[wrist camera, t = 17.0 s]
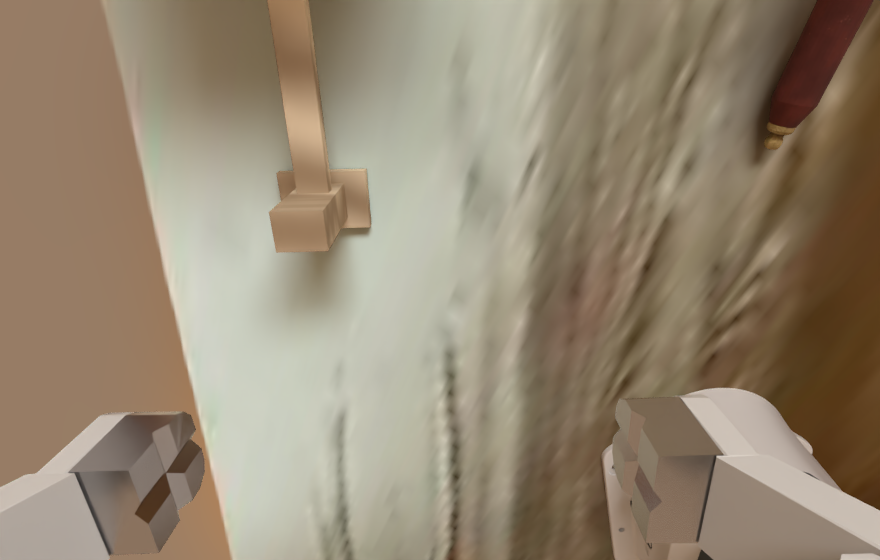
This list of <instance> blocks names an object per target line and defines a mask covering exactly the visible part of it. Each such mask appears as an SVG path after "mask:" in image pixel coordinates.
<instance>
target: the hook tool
mask: <svg viewBox="0 0 880 560" xmlns="http://www.w3.org/2000/svg"><path fill="white" fill-rule="evenodd" d="M267 2H268V9H269V15H270V22H271V28H272V35H273V41H274V47H275V54H276V60H277V67H278V73H279V80H280V86H281V93H282V99H283V106H284V112H285V119H286V125H287V132H288V138H289V145H290V151H291V158H292V164H293V171H279V172H278V173H276V174H277V179H278V185H279V191H280V197H281V202H280V203H279V204H278V205H276V206H275V207H274V208H273V209H272V210H271V211H270V212H269V215H270V220H271V226H272V231H273V237H274V242H275V248H276V252H309V251H329V249H330V247H331V245H332V244H333V242H334V240H335V238H336V237H337V235H338V233H339V231H340V230H341V228H360V227H370V226H371V214H370V203H369V192H368V181H367V170H366V169H331V170H329V162H328V154H327V146H326V138H325V130H324V122H323V113H322V105H321V97H320V89H319V81H318V73H317V65H316V57H315V48H314V40H313V32H312V24H311V16H310V8H309V0H267Z"/></svg>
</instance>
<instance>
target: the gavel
mask: <svg viewBox="0 0 880 560" xmlns="http://www.w3.org/2000/svg"><path fill="white" fill-rule="evenodd" d="M872 2H873V0H817V2H816V4H815V7H814V9H813V11H812V13H811V15H810V17H809V19H808V21H807V23H806V26H805V28H804V30H803V32H802V34H801V36H800V38H799V40H798V42H797V44H796V47H795V49H794V51H793V53H792V55H791V57H790V59H789V61H788V63H787V65H786V68H785V70H784V72H783V74H782V76H781V78H780V80H779V82H778V84H777V86H776V89H775V91H774V93H773V95H772V98H771V107H770V117H769V122H768V124H767V129H768V130H769V131H770V132H771V133H770V135H769V136H768V137H767V138H766V139H765V141H764V146H765V147H766V148H768V149H773V150H776V149H778V148H779V147H780V146H781V144H782V142H783V136H784V135H789V134H791V133H793V132H794V130H795V128H796V127H797V126H798V125H799V124H800V123H801V122H802V121H803V120H804V119H805V118H806V117H807V116H808V115H809V114H810V113H811V112H812V110H813V109H814V108H815V107H816V106H817V105H818V103H819V101H820V99H821V97H822V96H823V94H824V92H825V90H826V88H827V86H828V84H829V82H830V81H831V79H832V77H833V75H834V73H835V71H836V69H837V68H838V66H839V64H840V62H841V60H842V58H843V56H844V54H845V53H846V51H847V49H848V47H849V45H850V43H851V41H852V40H853V38H854V36H855V34H856V32H857V30H858V28H859V27H860V25H861V23H862V21H863V19H864V17H865V15H866V13H867V12H868V10H869V8H870V6H871V4H872Z"/></svg>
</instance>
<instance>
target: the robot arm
mask: <svg viewBox="0 0 880 560" xmlns="http://www.w3.org/2000/svg"><path fill="white" fill-rule="evenodd" d="M615 418H616V420H617V422H618V424H619V426H620V428H621V429H620V430H619V431H618V433H617V434H616V435H615V436H614V437H613V444H612V445H610V446H609V447H607V448H606V449H605V450H604V451H603V453H602V457H601V459H602V468H603V476H604V484H605V492H606V500H607V509H608V517H609V525H610V533H611V541H612V549H613V556H614V559H615V560H880V511H879V510H877V509H875V508H873V507H871V506H869V505H867V504H865V503H863V502H861V501H860V500H858V499H856V498H854V497H852V496H850V495H848V494H846V493H844V492H842V490H841V489H840V488H839V487H838V486H837V484H836V483H835V482H834V481H833V480H832V478H831V477H830V476H829V475H828V474H827V472H826V471H825V470H824V469H823V468H822V466H821V465H820V464H819V463H818V462H817V461H816V459H815V458H814V457H813V456H812V447H811V445H810V444H809V443H808V442H807V441H806V440H805V439H804V438H802V437H801V436H799V435H797V434H796V433H794V432H792V431H791V429H790V428H789V427H788V425H787V424H786V423H785V421H784V419H783V418H782V416H781V415H780V413H779V412H778V411H777V409H776V408H775V407H774V406H773V405H772V404H770V403H769V402H768V401H767V400H765V399H764V398H762V397H760V396H758V395H756V394H754V393H751V392H748V391H745V390H740V389H734V388H713V389H706V390H701V391H696V392H693V393H690V394H687V395H683V396H674V397H657V398H632V399H619V402H618V404H617V408H616V416H615ZM195 430H196V429H195V426H194V423H193V420H192V417H191V415H189V414H187V413H185V412H134V413H131V412H123V413H108V414H104V415H101V416H99V417H98V418H97V419H96V420H95V421H94V422H92V423H91V424H90V425H89V426H88V427H87V428H86V429H85V430H84V431H83V432H82V433H80V434H79V435H78V436H77V437H76V438H75V439H74V440H73V441H72V442H70V443H69V444H68V445H67V446H66V447H65V448H64V449H63V450H62V451H60V453H58V454H57V455H56V456H55V457H54V458H53V459H52V460H51V461H49V462H48V463H47V464H46V465H45V466H44V467H43V468H42V469H41V470H39V472H37V473H36V474H27V475H24V476H22V477H21V478H18V479H16V480H14V481H12V482H10V483H8V484H6V485H4V486H2V487H0V560H108V559H110V555H128V554H149V553H159V552H160V550H161V549H162V547H163V546H164V544H165V543H166V541H167V540H168V538H169V536H170V535H171V533H172V532H173V530H174V528H175V527H176V525H177V524H178V522H179V521H180V519H179V514H178V510H179V509H180V508H182V507H183V506H185V505H186V504H188V503H189V502H191V501H192V500H193V499H194V497H195V495H196V494H197V492H198V490H199V489H200V486H201V482H202V479H203V475H204V471H205V470H204V456H203V453H202V449H201V448H200V447H199V446H198V445H197V444H196V443H194V442H193V441H192V440H191V438H192V436H193V434H194V432H195ZM613 465H614V469H613V468H612V466H613ZM620 528H621V529H620Z"/></svg>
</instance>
